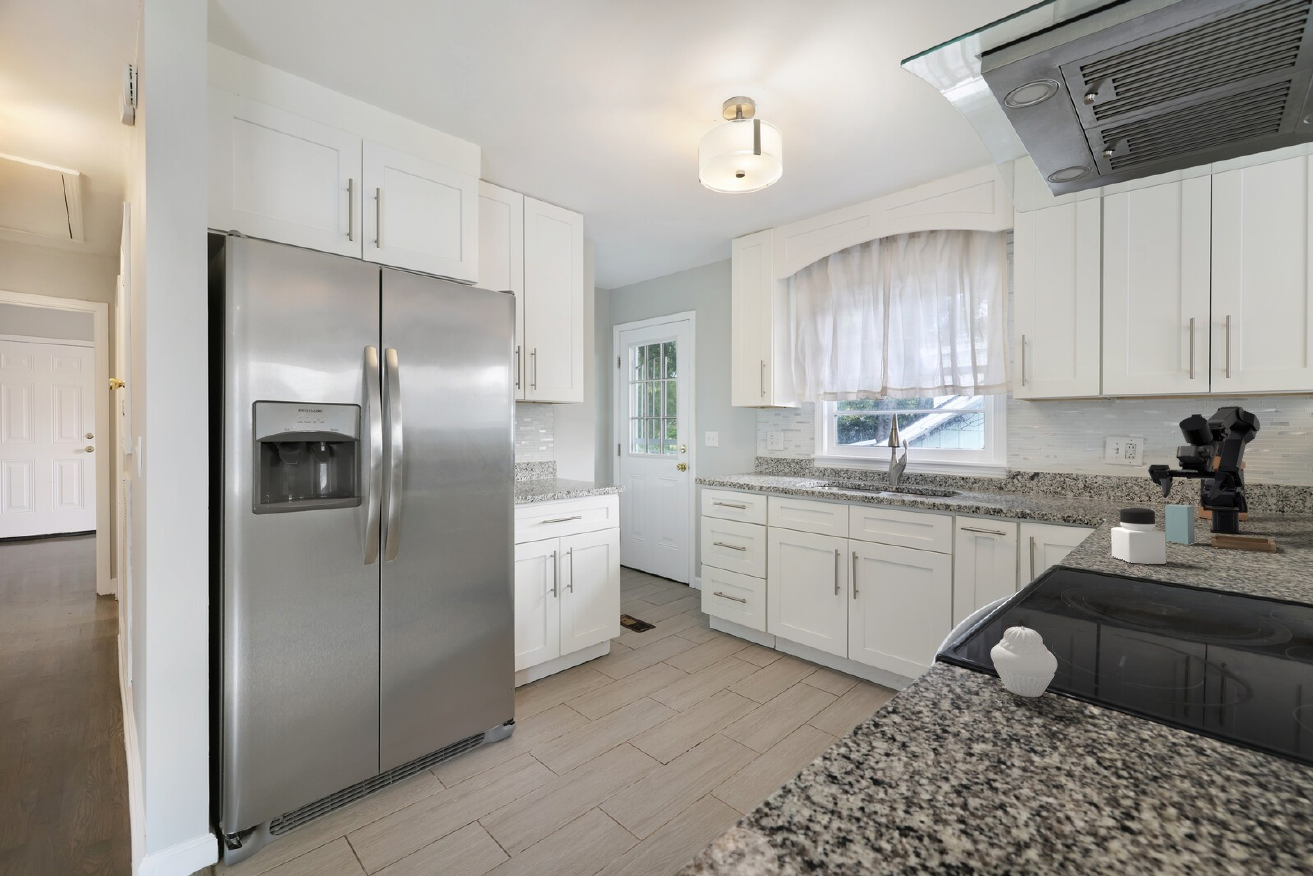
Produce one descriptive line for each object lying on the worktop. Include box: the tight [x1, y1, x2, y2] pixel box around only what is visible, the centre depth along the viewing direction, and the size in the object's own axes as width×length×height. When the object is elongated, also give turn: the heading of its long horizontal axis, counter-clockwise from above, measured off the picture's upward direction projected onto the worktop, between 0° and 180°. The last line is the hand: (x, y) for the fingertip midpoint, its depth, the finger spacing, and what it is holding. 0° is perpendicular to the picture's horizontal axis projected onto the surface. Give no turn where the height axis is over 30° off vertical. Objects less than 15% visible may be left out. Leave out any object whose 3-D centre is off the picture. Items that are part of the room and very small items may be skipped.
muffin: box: [990, 625, 1058, 698], centre depth 62 cm, size 6×6×7 cm
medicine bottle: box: [1110, 507, 1167, 564], centre depth 130 cm, size 7×7×12 cm
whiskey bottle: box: [1198, 441, 1249, 521], centre depth 199 cm, size 10×10×32 cm
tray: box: [1210, 534, 1277, 554], centre depth 146 cm, size 11×11×2 cm
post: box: [1164, 504, 1195, 544], centre depth 152 cm, size 4×4×10 cm
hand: (1186, 497), depth 155 cm, fingers open, 9 cm apart
